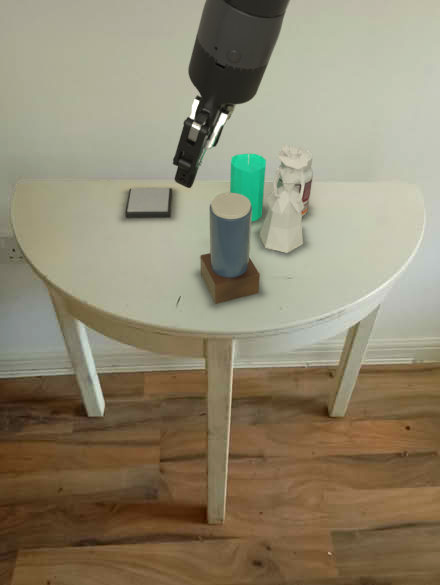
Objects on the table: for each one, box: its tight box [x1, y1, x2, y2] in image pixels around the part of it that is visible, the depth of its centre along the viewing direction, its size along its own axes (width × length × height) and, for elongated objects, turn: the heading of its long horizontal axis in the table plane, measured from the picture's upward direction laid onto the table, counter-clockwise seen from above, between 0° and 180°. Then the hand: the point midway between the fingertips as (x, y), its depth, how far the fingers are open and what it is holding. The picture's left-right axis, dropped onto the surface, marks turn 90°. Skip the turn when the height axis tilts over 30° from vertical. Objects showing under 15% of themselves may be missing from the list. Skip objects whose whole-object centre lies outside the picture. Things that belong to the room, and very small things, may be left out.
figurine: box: [259, 143, 308, 254], centre depth 80 cm, size 7×8×18 cm
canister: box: [209, 192, 252, 278], centre depth 72 cm, size 6×6×11 cm
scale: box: [124, 187, 173, 219], centre depth 93 cm, size 8×8×1 cm
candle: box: [229, 152, 267, 223], centre depth 87 cm, size 6×6×12 cm
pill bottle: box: [277, 146, 314, 217], centre depth 88 cm, size 6×6×11 cm
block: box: [199, 252, 261, 305], centre depth 77 cm, size 7×7×4 cm
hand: (196, 162), depth 62 cm, fingers open, 8 cm apart
